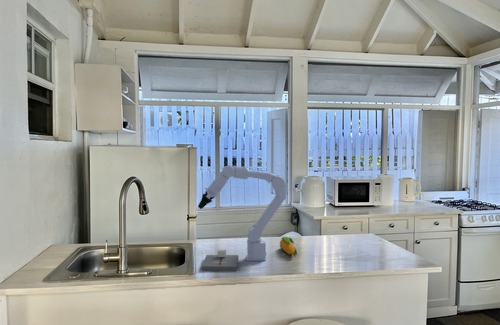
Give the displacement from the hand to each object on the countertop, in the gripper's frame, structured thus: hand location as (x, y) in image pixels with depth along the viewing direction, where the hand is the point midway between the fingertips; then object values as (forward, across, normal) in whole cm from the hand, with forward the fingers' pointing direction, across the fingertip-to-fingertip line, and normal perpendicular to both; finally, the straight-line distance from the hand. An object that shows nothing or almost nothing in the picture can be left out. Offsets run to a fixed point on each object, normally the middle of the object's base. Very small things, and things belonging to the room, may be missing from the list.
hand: (200, 206), depth 170 cm
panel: (+13, +11, +25) cm, 30 cm away
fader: (+12, +6, +23) cm, 27 cm away
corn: (-7, -7, +52) cm, 53 cm away
